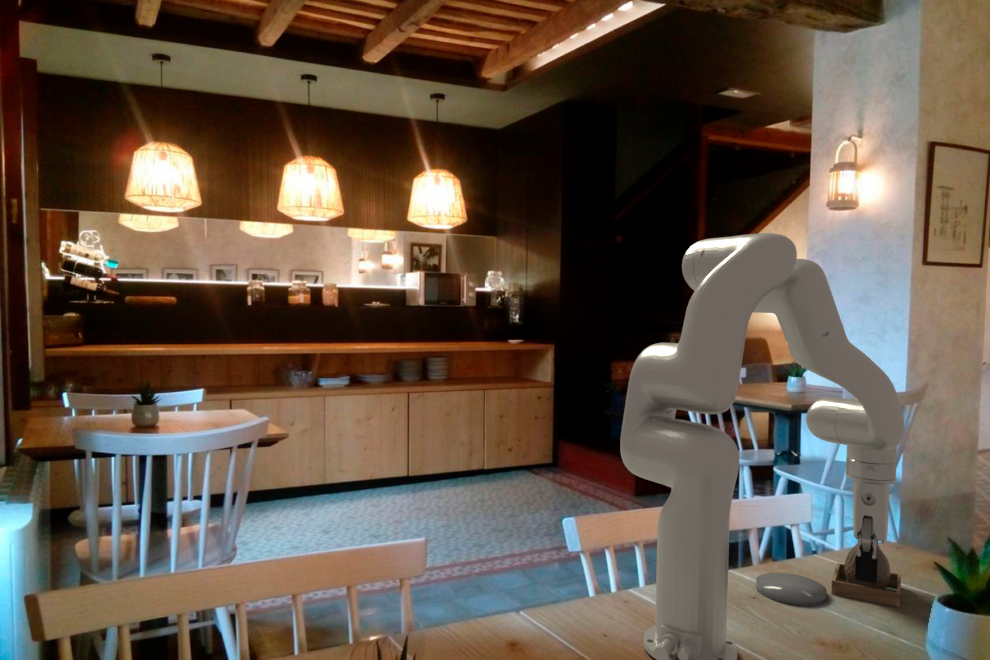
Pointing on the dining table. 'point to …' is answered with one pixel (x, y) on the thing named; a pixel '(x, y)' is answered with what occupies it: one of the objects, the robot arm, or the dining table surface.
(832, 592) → the holder
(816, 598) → the plate
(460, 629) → the dining table surface
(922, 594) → the dining table surface
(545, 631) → the dining table surface
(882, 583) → the vase
